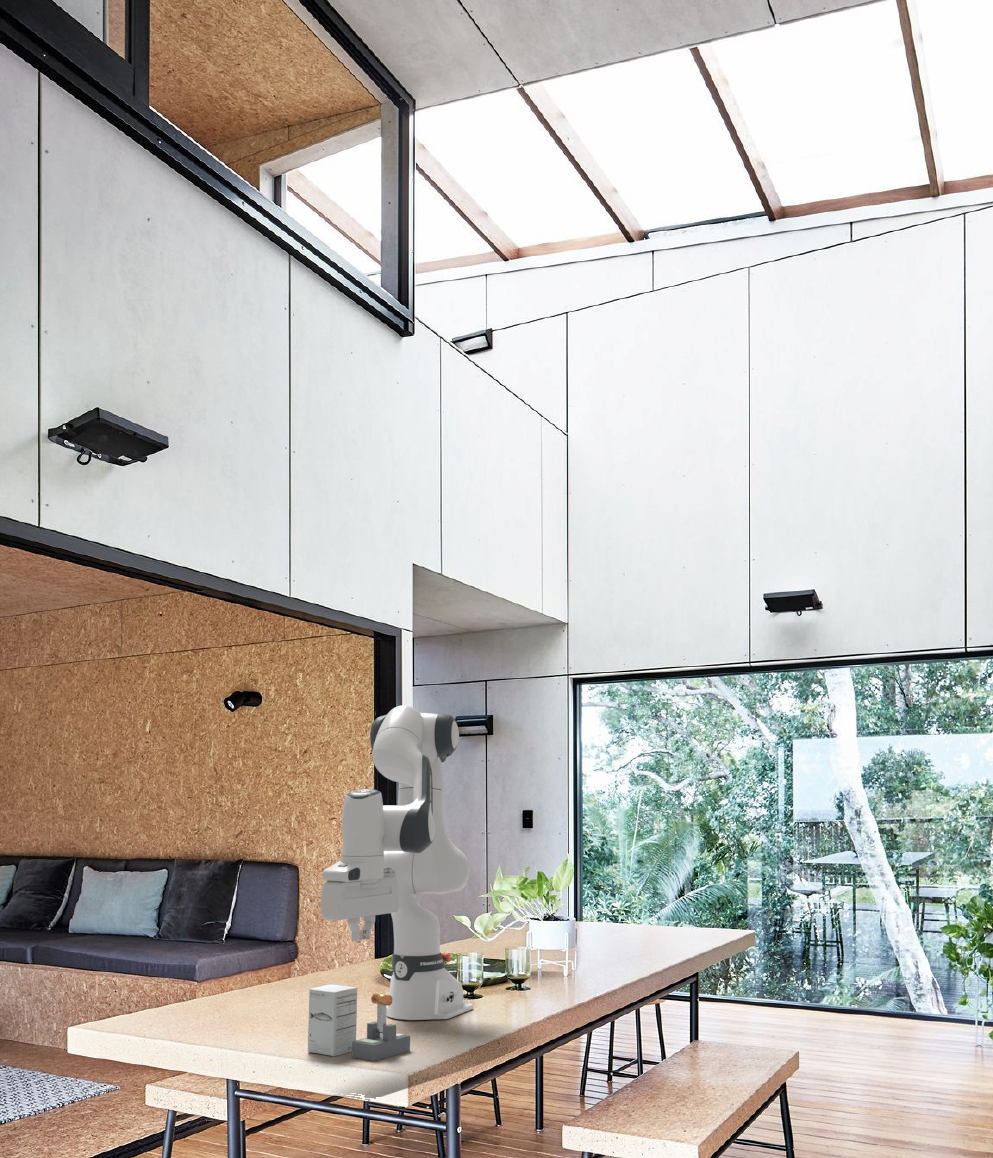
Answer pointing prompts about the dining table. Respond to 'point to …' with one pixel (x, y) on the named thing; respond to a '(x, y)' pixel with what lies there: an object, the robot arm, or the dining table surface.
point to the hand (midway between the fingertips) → (361, 939)
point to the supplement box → (332, 1019)
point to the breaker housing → (380, 1043)
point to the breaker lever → (381, 1009)
